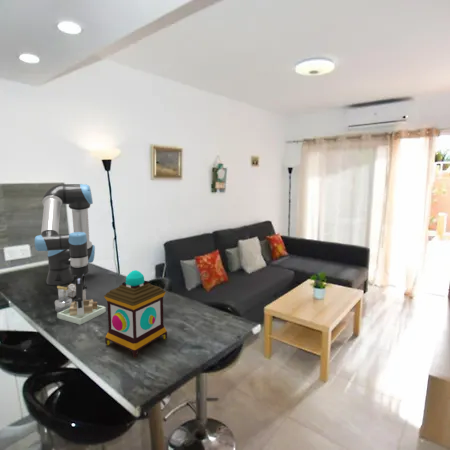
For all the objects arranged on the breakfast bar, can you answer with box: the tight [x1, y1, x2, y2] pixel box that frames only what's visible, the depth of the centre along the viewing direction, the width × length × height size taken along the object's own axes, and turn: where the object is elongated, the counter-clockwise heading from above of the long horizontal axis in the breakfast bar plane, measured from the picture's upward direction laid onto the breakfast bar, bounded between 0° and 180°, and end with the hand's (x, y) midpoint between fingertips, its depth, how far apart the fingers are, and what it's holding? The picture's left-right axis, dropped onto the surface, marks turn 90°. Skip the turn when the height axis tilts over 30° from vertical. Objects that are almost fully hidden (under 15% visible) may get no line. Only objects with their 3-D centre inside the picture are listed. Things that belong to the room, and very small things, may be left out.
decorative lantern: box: [103, 269, 168, 359], centre depth 117 cm, size 20×20×30 cm
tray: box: [56, 304, 107, 325], centre depth 143 cm, size 15×15×2 cm
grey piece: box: [54, 285, 73, 313], centre depth 148 cm, size 8×8×12 cm
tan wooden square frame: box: [69, 298, 98, 316], centre depth 143 cm, size 10×12×3 cm
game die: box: [65, 282, 76, 300], centre depth 163 cm, size 9×8×10 cm
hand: (81, 307), depth 142 cm, fingers open, 13 cm apart
